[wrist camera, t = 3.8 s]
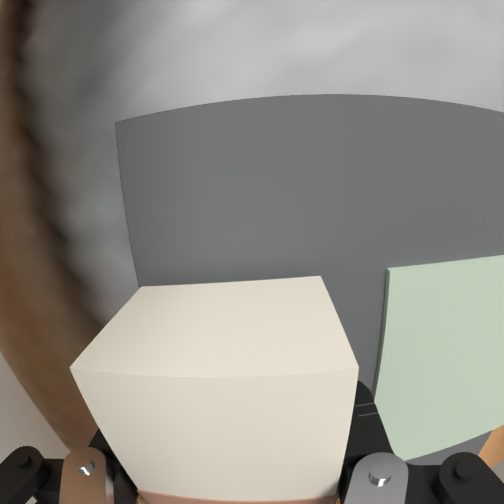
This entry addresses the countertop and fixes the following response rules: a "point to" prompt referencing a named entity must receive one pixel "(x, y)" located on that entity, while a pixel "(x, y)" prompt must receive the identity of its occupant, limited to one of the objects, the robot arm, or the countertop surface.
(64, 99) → the countertop surface
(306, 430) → the card box
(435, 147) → the mat
